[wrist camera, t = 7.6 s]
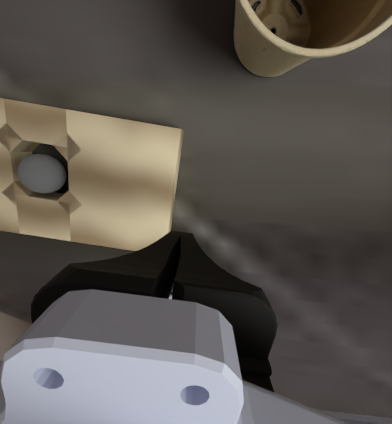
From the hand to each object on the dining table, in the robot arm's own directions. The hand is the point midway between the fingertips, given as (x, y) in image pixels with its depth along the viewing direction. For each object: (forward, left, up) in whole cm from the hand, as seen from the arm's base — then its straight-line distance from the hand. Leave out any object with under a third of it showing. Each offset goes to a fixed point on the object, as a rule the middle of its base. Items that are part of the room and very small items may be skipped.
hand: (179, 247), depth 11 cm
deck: (+1, +10, -10) cm, 14 cm away
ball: (+1, +14, -8) cm, 16 cm away
